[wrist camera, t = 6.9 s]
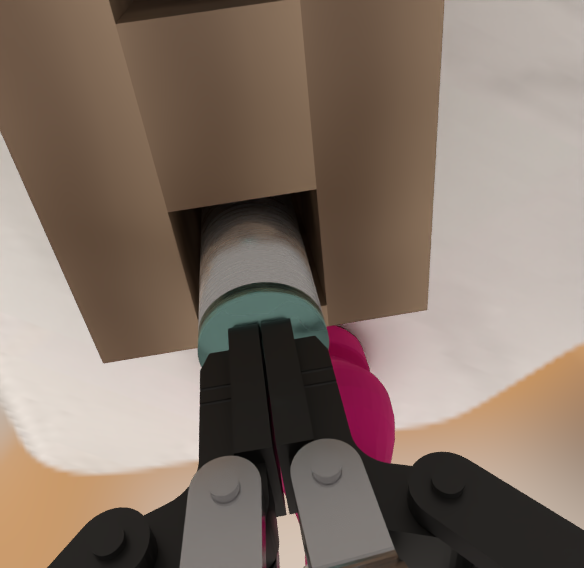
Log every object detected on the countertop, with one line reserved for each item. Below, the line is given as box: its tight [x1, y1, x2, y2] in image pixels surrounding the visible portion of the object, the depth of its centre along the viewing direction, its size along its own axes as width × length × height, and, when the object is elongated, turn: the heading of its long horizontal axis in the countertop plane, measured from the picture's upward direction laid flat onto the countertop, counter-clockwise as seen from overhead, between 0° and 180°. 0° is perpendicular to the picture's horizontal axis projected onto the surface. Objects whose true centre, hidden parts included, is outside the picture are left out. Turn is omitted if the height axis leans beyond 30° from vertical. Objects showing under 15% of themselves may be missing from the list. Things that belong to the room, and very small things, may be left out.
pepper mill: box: [280, 325, 395, 568], centre depth 23 cm, size 7×7×20 cm
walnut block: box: [0, 0, 444, 363], centre depth 17 cm, size 11×15×9 cm
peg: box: [198, 193, 329, 367], centre depth 16 cm, size 3×3×8 cm
